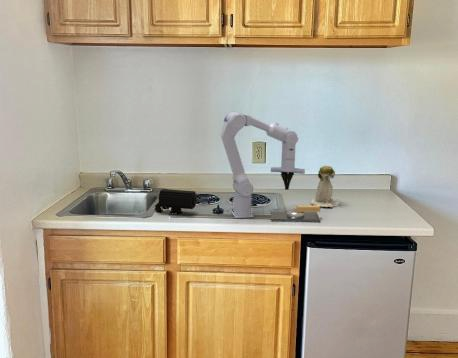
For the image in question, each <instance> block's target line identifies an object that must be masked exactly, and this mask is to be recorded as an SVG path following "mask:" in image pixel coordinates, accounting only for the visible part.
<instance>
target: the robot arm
mask: <svg viewBox="0 0 458 358" xmlns="http://www.w3.org/2000/svg"><path fill="white" fill-rule="evenodd" d="M222 121H223V122H222V123H223V124H222V128H221V133H220V139H221V141H222V144H223V147H224V150H225V153H226V156H227V160H228V163H229V166H230V169H231V173H232V180H233V181H232V187H233V190H234V191H235V192H234V195H233V199H232V201H233V203H232V208H233V209H232V210H231V211H230V213H231V214H232V215H233V217H234V218H235V219H242V218H243V219H244V218H245V219H246V218H254V215H253V214H252V194H253V192H254V185H253V184H252V183H251V181H250V180H249V177H248V175H247V174H246V173H245V169H244V164H243V161H242V159H241V155H240V152H239V149H238V145H237V143H236V138H235V137H236V135H237V134H238V133H239V131H241V130H242V129H243V128H244V127H249V126H251V127H254V128H257V129H259V130H262V131H264V132H265V134H266V135H267V136H268V137H270V138H273V139H275V140H277V141H279V142H281V143H282V144H281V162H280V164H281V165H280V166H277V167H275V166H274V167H273V166H271V167H270V173H280V177H281V179H282V180H283V183H284V184H283V185H284V190H287V191H289V189H290V185H291V182H292V179H293V177H294V176H295V175H294V174H300V175H301V174H302V175H305V174H306V172H305V171H306V169H305V168H298V167H295V163H296V145H297V143H298V142H299V137H298V134H297V132H295V131H293V130H289V128H288V127H284V126H281V125H280V123H278V122H275V123H274V122H271V123H267V122H264V121H262V120H260V119H258V118H256V117H254V116H252V115H249V114H243V113H241V112H236V111H229V112H228V113H226V115H225V116H224V118H223V120H222ZM233 211H234V212H233Z"/></svg>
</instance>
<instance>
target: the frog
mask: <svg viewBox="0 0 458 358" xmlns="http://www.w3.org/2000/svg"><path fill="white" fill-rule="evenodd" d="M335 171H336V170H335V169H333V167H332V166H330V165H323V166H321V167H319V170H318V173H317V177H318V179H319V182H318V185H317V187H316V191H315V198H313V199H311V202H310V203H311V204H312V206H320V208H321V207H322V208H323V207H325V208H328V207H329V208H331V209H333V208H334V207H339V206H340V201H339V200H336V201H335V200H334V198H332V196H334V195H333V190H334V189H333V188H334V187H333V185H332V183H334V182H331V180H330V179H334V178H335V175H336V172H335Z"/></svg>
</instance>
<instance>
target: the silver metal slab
mask: <svg viewBox="0 0 458 358" xmlns="http://www.w3.org/2000/svg"><path fill="white" fill-rule="evenodd" d="M269 213H270V214H271V215H270V221H271V222H282V223H283V222H289V223H291V222H292V223H294V222H295V223H321V218H320V216H319V214H318V212H294V211H293V208H292V209H288V210H287V211H281V210H279V211H278V210H277V211H274V210H273V211H270V212H269Z"/></svg>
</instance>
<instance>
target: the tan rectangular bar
mask: <svg viewBox="0 0 458 358" xmlns="http://www.w3.org/2000/svg"><path fill="white" fill-rule="evenodd" d="M292 209H293V211H294V212H317V213H320V212H321V206H314V205H294V206H293V208H292Z"/></svg>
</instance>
